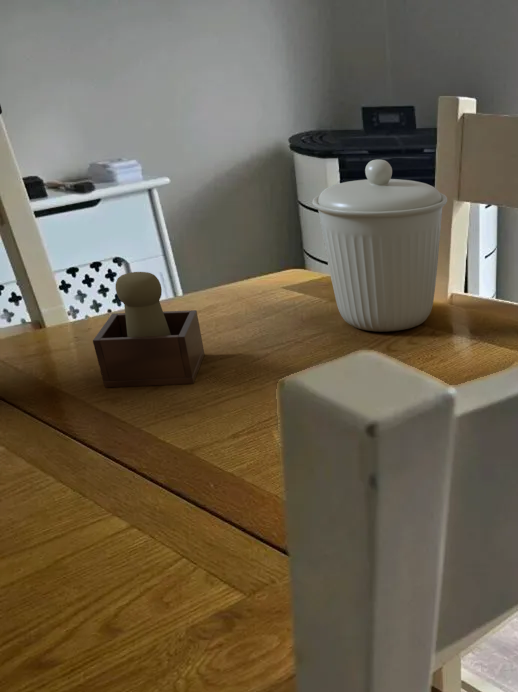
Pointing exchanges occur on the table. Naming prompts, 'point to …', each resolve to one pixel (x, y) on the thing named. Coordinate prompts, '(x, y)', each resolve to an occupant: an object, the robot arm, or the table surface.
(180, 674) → the table surface
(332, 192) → the canister
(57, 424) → the table surface
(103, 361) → the box
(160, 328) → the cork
